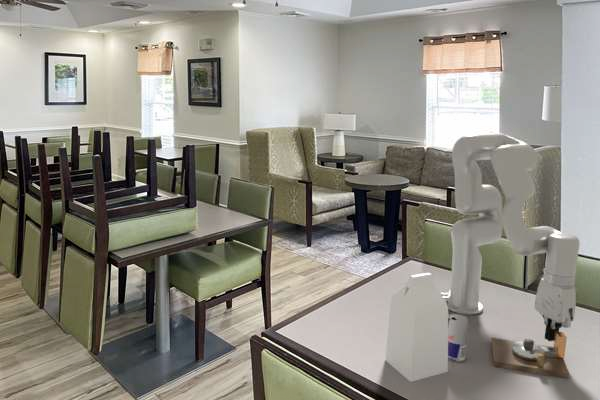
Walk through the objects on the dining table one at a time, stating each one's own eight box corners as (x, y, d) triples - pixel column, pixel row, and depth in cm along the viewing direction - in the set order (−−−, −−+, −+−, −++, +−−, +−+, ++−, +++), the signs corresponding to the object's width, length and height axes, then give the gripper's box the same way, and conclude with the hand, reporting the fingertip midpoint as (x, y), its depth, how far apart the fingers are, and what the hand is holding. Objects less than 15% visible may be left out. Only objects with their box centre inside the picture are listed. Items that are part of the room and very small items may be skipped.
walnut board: (493, 366, 131) (495, 347, 130) (491, 342, 144) (492, 325, 143) (568, 378, 125) (570, 359, 124) (558, 352, 138) (560, 334, 137)
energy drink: (442, 352, 138) (445, 313, 135) (460, 352, 138) (463, 313, 136) (449, 362, 133) (452, 322, 130) (468, 362, 133) (471, 321, 131)
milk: (410, 381, 124) (415, 285, 118) (385, 360, 134) (389, 271, 129) (447, 371, 128) (454, 278, 123) (420, 351, 139) (425, 265, 133)
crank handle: (517, 359, 131) (519, 338, 130) (508, 345, 139) (510, 325, 137) (568, 362, 129) (570, 341, 128) (555, 347, 137) (558, 327, 136)
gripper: (527, 270, 139) (521, 329, 143) (570, 290, 125) (561, 354, 129) (549, 267, 141) (541, 325, 145) (592, 287, 127) (583, 350, 131)
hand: (551, 339), depth 137 cm, fingers closed
